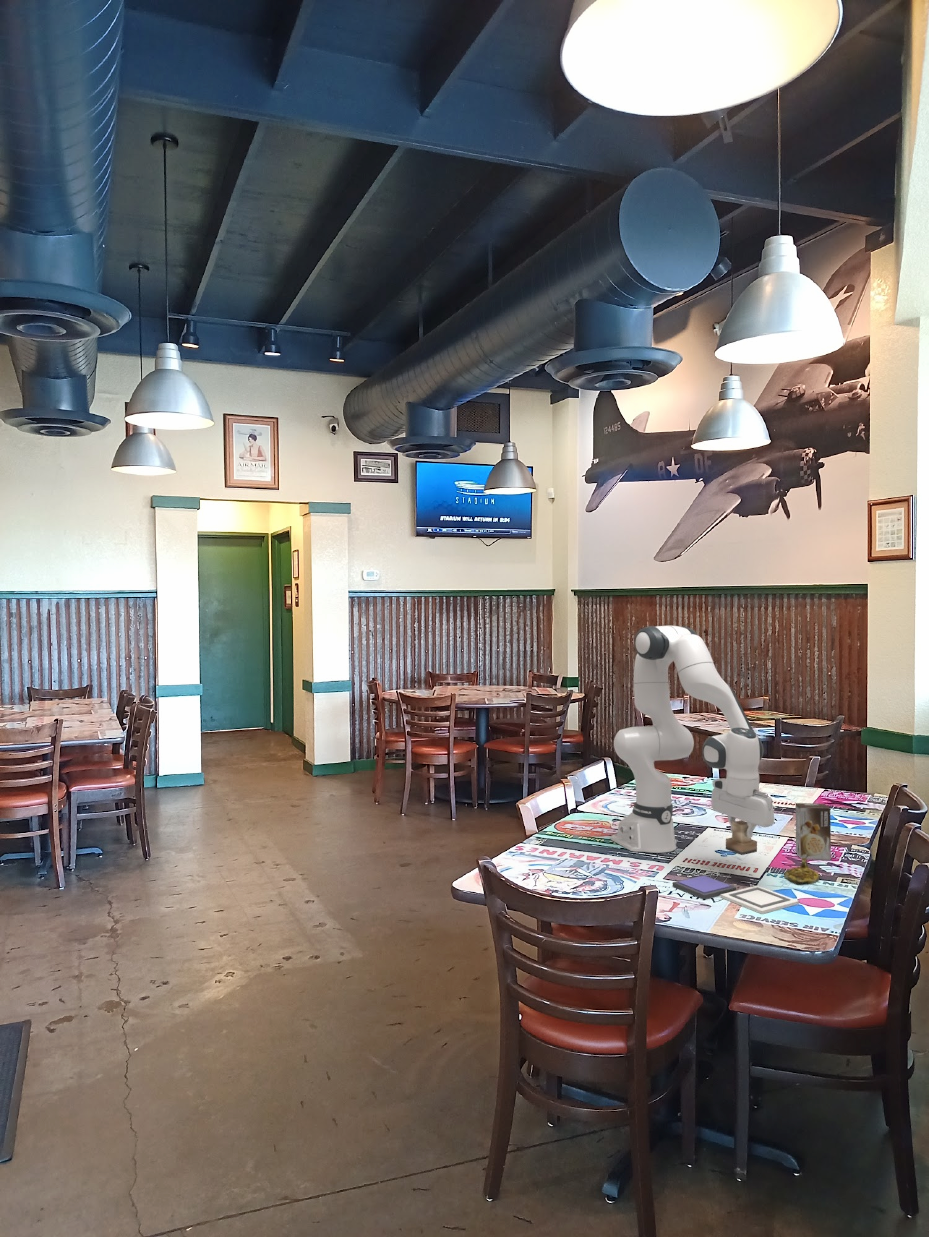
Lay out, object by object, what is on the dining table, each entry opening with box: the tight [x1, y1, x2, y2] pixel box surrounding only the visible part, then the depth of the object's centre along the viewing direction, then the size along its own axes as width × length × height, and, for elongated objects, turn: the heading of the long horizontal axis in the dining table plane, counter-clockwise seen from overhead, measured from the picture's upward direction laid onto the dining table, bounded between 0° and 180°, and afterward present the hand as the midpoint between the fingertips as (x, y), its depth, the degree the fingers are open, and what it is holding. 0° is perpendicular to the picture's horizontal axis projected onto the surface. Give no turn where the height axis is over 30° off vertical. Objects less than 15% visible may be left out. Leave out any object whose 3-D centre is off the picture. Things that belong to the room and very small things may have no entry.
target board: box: [720, 885, 800, 915], centre depth 232 cm, size 14×14×1 cm
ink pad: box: [672, 874, 737, 900], centre depth 241 cm, size 12×12×2 cm
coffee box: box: [795, 802, 832, 861], centre depth 269 cm, size 9×6×16 cm
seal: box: [784, 858, 821, 886], centre depth 250 cm, size 9×5×15 cm
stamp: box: [725, 819, 758, 856], centre depth 247 cm, size 6×6×8 cm
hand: (741, 834), depth 247 cm, fingers closed on stamp, 4 cm apart
